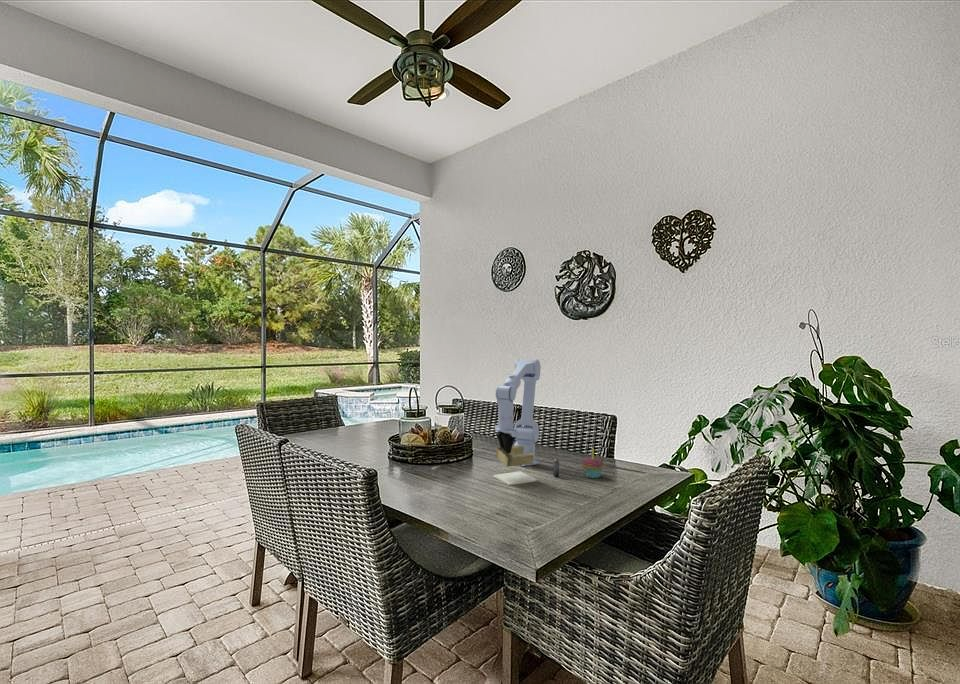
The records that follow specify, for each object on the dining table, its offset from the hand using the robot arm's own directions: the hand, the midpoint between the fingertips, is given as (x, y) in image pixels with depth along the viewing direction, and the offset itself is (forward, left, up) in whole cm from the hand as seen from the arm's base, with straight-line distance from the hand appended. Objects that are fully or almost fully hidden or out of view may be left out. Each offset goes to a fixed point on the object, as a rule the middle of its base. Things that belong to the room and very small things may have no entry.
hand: (505, 452), depth 175 cm
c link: (+3, +2, -2) cm, 4 cm away
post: (+8, +18, -9) cm, 22 cm away
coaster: (+4, +2, -9) cm, 10 cm away
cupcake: (+14, +30, -10) cm, 35 cm away
